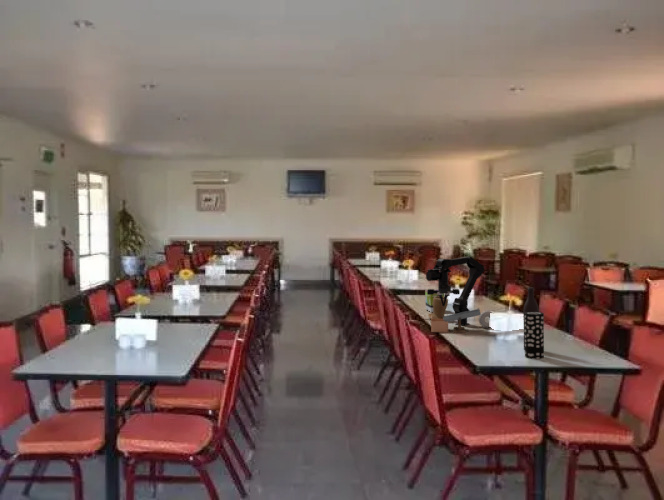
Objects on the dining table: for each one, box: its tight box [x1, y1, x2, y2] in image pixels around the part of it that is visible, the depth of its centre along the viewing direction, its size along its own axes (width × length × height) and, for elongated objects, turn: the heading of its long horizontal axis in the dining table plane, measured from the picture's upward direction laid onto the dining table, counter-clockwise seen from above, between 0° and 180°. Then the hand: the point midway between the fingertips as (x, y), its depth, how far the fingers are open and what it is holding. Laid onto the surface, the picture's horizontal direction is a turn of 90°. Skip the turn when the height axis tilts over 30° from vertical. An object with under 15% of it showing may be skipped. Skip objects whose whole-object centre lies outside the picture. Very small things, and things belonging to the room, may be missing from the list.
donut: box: [478, 310, 493, 329], centre depth 390 cm, size 10×4×10 cm, turn 99°
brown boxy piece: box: [430, 315, 449, 333], centre depth 384 cm, size 10×11×8 cm
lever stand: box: [453, 318, 466, 334], centre depth 382 cm, size 6×15×8 cm, turn 172°
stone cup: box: [427, 296, 449, 320], centre depth 425 cm, size 15×12×15 cm
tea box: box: [424, 288, 445, 313], centre depth 466 cm, size 15×10×15 cm
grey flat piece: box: [443, 307, 482, 323], centre depth 386 cm, size 21×16×3 cm
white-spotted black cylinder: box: [524, 311, 545, 360], centre depth 305 cm, size 8×8×20 cm
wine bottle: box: [522, 287, 540, 351], centre depth 320 cm, size 7×7×30 cm
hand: (443, 306), depth 398 cm, fingers closed
